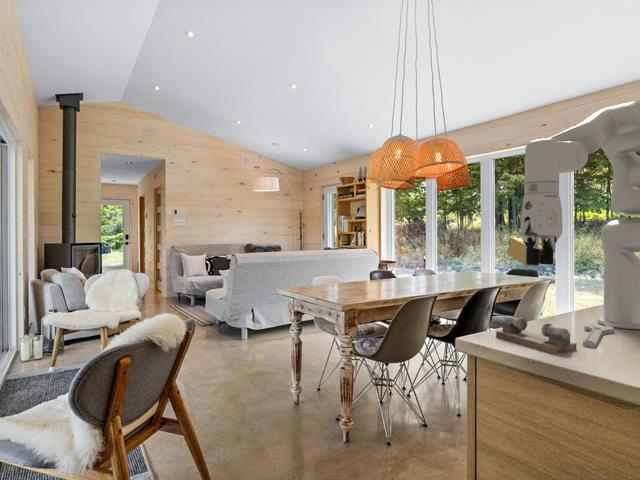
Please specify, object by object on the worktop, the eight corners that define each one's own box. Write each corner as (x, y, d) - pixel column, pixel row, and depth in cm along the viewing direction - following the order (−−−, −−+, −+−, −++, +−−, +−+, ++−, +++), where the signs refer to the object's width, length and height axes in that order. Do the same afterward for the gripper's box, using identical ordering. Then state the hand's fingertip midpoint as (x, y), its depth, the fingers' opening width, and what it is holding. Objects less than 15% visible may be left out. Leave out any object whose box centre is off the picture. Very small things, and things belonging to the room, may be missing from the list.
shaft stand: (517, 333, 109) (517, 313, 109) (576, 349, 95) (576, 325, 95) (496, 336, 106) (496, 315, 106) (553, 353, 91) (554, 329, 91)
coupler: (545, 250, 101) (522, 236, 106) (533, 250, 99) (510, 236, 104) (537, 265, 103) (515, 251, 108) (525, 265, 101) (503, 251, 106)
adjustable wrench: (595, 350, 96) (595, 343, 96) (564, 345, 100) (564, 338, 100) (615, 332, 114) (615, 326, 114) (588, 328, 118) (588, 322, 118)
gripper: (533, 186, 92) (531, 266, 92) (577, 191, 100) (575, 265, 100) (505, 189, 99) (503, 264, 99) (548, 194, 107) (546, 262, 107)
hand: (539, 263), depth 100 cm, fingers closed on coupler, 4 cm apart
